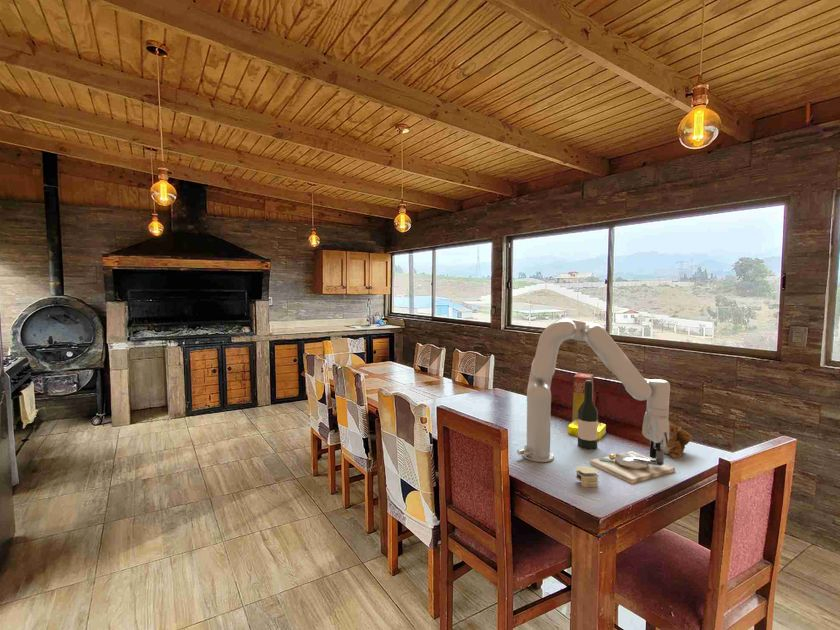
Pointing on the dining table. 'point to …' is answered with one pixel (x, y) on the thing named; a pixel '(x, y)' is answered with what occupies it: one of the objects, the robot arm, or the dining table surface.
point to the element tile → (574, 429)
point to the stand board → (631, 474)
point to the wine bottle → (588, 420)
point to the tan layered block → (587, 476)
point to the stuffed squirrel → (676, 441)
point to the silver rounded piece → (637, 460)
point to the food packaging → (579, 392)
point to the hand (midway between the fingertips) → (654, 457)
